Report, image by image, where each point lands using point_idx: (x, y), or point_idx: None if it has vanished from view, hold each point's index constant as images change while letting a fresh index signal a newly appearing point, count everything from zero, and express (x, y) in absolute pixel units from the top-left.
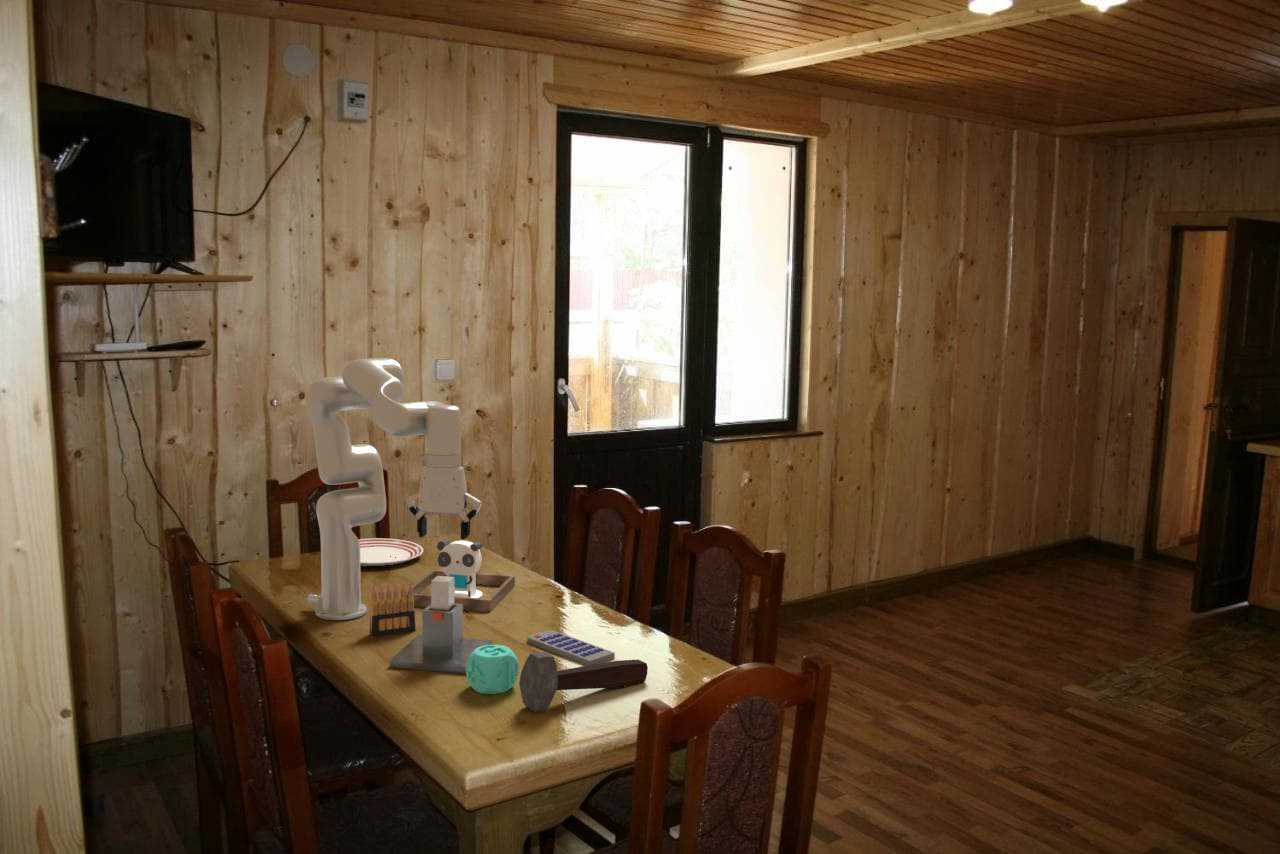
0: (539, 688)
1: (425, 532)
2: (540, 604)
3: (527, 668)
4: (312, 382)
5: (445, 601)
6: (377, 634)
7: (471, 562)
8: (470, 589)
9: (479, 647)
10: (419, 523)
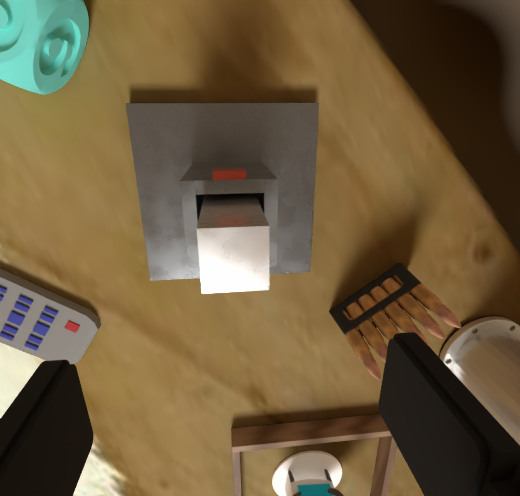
0: None
1: (388, 402)
2: (160, 479)
3: None
4: None
5: (212, 208)
6: (391, 270)
7: None
8: (290, 485)
9: (32, 23)
10: (484, 414)
